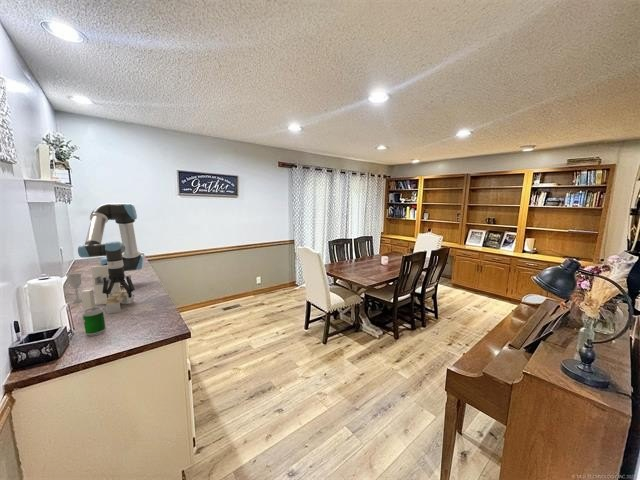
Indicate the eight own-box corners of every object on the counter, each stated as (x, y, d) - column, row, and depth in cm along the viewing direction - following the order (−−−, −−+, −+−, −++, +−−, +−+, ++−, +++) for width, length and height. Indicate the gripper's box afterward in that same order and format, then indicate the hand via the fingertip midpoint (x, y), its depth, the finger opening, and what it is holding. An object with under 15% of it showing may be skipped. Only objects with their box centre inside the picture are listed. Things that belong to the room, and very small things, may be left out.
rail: (124, 294, 169) (123, 288, 169) (131, 294, 170) (130, 288, 170) (107, 305, 152) (106, 298, 151) (115, 304, 153) (114, 297, 152)
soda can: (109, 329, 134) (106, 306, 132) (97, 336, 126) (94, 312, 124) (94, 329, 133) (91, 306, 132) (81, 337, 126) (77, 313, 124)
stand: (123, 302, 170) (122, 294, 169) (133, 301, 171) (132, 294, 170) (106, 313, 153) (105, 305, 152) (118, 312, 154) (117, 304, 153)
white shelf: (97, 302, 170) (92, 266, 166) (122, 300, 172) (117, 264, 169) (74, 315, 150) (68, 274, 146) (102, 313, 152) (96, 273, 149)
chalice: (67, 304, 167) (63, 276, 165) (74, 300, 174) (70, 273, 171) (81, 302, 169) (77, 275, 167) (87, 299, 176) (83, 272, 173)
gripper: (91, 269, 153) (96, 307, 156) (132, 267, 156) (137, 304, 160) (99, 266, 160) (104, 302, 163) (138, 264, 164) (142, 299, 167)
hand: (120, 303), depth 161 cm, fingers open, 9 cm apart
